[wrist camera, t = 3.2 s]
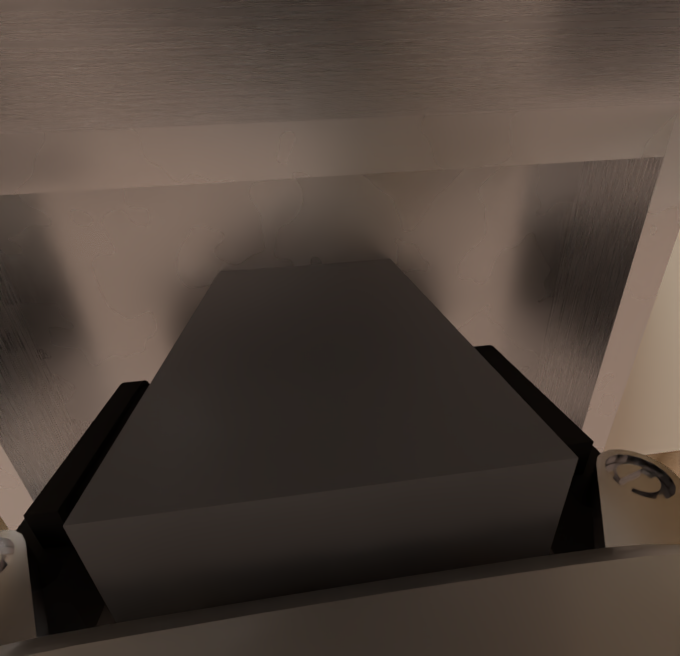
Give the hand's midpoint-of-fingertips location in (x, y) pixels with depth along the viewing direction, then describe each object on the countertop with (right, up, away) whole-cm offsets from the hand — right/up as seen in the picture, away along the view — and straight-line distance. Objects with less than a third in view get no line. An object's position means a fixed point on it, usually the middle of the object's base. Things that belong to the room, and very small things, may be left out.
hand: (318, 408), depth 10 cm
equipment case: (0, +1, +2) cm, 3 cm away
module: (0, +1, +2) cm, 2 cm away
